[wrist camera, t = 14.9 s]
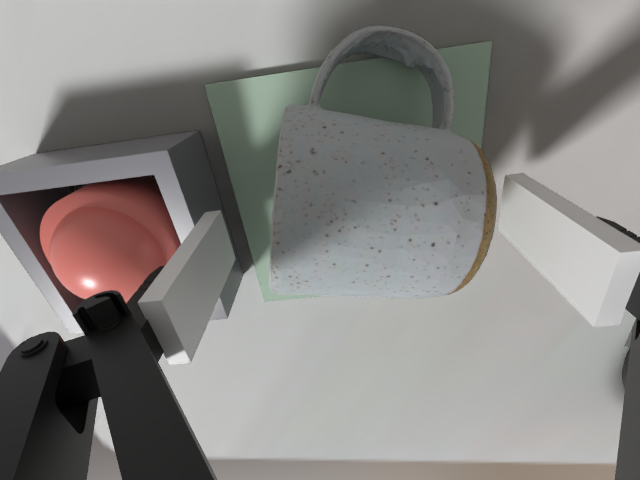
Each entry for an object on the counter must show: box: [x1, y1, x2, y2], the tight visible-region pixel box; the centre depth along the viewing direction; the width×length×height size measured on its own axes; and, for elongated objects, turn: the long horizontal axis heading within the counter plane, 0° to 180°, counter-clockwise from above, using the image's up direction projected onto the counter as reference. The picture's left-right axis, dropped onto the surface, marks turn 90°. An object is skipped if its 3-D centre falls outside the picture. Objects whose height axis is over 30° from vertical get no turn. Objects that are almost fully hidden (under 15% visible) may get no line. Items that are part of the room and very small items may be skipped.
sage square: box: [204, 41, 492, 302], centre depth 18 cm, size 13×13×1 cm
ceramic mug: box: [269, 25, 497, 299], centre depth 14 cm, size 11×8×8 cm
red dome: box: [40, 176, 181, 303], centre depth 16 cm, size 6×6×5 cm
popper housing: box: [0, 130, 243, 334], centre depth 18 cm, size 9×9×4 cm
